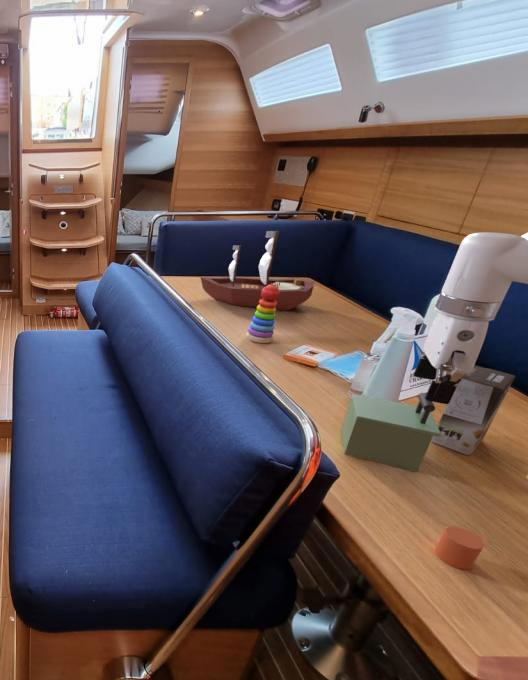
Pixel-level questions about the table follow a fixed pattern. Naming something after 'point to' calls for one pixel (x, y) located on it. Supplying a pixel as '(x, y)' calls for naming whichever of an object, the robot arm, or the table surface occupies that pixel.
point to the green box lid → (397, 414)
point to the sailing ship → (258, 283)
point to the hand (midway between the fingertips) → (429, 389)
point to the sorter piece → (458, 547)
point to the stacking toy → (264, 316)
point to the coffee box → (472, 409)
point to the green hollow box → (383, 442)
